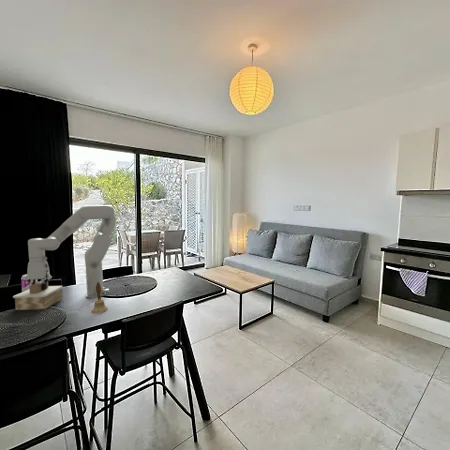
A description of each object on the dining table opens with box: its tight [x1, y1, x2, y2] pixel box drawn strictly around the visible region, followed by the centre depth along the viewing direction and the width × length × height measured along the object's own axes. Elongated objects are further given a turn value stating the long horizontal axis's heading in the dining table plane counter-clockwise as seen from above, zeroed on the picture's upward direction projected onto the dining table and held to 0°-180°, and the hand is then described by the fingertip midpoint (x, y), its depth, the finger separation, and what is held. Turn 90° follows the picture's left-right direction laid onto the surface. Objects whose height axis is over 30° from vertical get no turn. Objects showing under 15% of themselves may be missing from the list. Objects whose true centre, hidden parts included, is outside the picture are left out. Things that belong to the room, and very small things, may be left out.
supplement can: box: [20, 273, 39, 293], centre depth 162 cm, size 8×8×15 cm
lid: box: [12, 280, 64, 299], centre depth 148 cm, size 17×17×6 cm
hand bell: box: [90, 282, 109, 315], centre depth 139 cm, size 8×8×16 cm
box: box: [14, 288, 63, 311], centre depth 148 cm, size 16×16×8 cm
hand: (39, 289), depth 148 cm, fingers open, 4 cm apart
